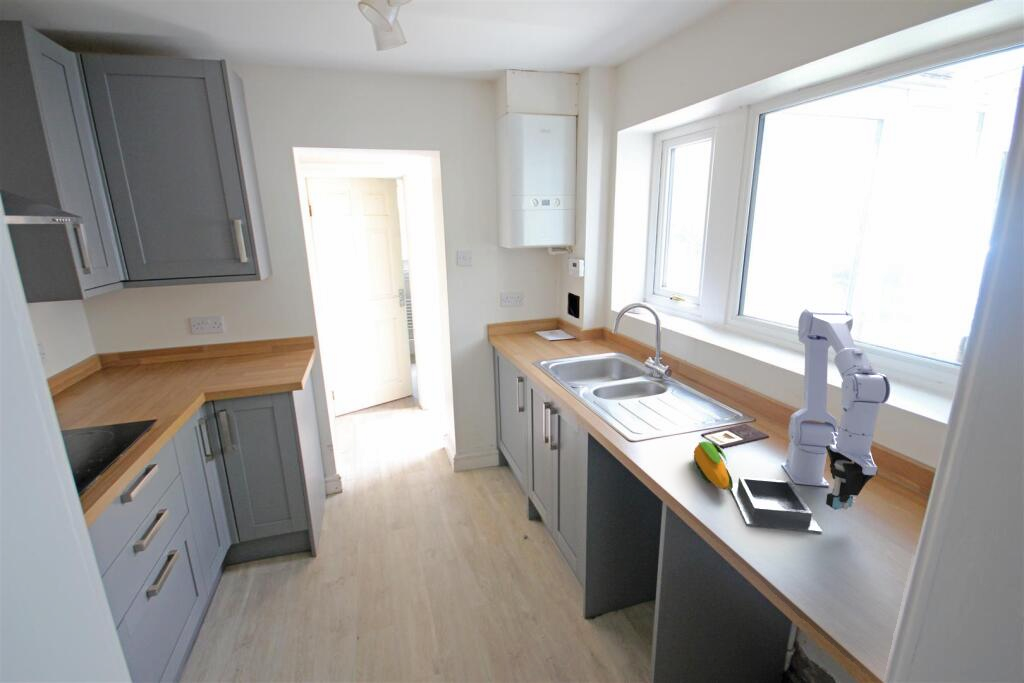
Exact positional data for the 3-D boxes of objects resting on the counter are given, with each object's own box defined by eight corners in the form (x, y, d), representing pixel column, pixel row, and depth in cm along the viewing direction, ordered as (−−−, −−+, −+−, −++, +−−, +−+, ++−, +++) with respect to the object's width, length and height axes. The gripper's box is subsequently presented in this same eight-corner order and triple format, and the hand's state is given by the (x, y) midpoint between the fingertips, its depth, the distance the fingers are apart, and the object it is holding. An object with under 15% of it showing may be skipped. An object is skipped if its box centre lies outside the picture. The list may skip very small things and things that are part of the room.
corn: (716, 433, 127) (744, 472, 108) (716, 457, 129) (743, 500, 110) (689, 434, 128) (711, 473, 109) (689, 458, 130) (711, 501, 111)
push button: (842, 497, 102) (849, 456, 100) (865, 510, 97) (872, 467, 95) (818, 501, 101) (824, 459, 99) (840, 514, 96) (847, 471, 94)
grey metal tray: (728, 484, 116) (730, 472, 115) (792, 490, 113) (794, 477, 113) (746, 525, 101) (748, 511, 100) (821, 533, 98) (824, 519, 97)
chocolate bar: (769, 435, 140) (723, 446, 134) (768, 438, 140) (723, 449, 134) (745, 423, 148) (701, 433, 142) (745, 426, 148) (701, 436, 142)
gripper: (819, 413, 102) (809, 466, 106) (853, 444, 88) (840, 505, 92) (854, 415, 101) (843, 469, 104) (894, 447, 87) (880, 508, 91)
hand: (844, 486), depth 98 cm, fingers closed on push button, 5 cm apart
